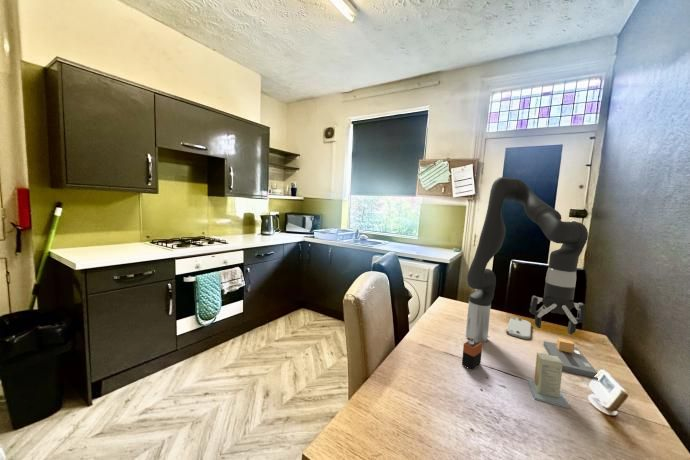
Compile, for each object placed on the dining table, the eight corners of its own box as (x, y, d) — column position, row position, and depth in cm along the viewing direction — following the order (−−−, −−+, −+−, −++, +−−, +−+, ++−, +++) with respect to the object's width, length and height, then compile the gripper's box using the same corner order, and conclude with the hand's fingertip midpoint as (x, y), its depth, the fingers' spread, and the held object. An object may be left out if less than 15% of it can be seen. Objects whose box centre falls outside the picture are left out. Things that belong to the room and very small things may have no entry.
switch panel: (597, 378, 99) (598, 373, 99) (557, 369, 104) (558, 364, 103) (576, 351, 117) (576, 347, 117) (543, 345, 122) (543, 340, 122)
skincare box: (554, 390, 91) (559, 356, 89) (559, 398, 86) (564, 363, 85) (532, 384, 93) (536, 351, 92) (536, 393, 89) (540, 358, 87)
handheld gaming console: (530, 336, 125) (506, 329, 131) (530, 342, 125) (505, 335, 131) (531, 320, 143) (509, 315, 149) (531, 325, 144) (509, 319, 150)
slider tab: (573, 353, 111) (574, 344, 111) (558, 350, 113) (559, 341, 113) (570, 349, 114) (571, 340, 114) (556, 346, 116) (557, 338, 116)
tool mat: (534, 399, 87) (534, 397, 87) (527, 380, 96) (527, 379, 96) (569, 408, 83) (569, 406, 83) (558, 388, 92) (558, 387, 92)
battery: (461, 365, 104) (463, 340, 103) (470, 359, 108) (472, 336, 107) (472, 371, 100) (474, 346, 99) (480, 365, 104) (483, 340, 103)
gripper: (536, 282, 86) (530, 330, 87) (593, 289, 80) (586, 340, 82) (531, 276, 93) (526, 321, 94) (583, 283, 87) (576, 330, 89)
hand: (553, 330), depth 88 cm, fingers open, 8 cm apart
